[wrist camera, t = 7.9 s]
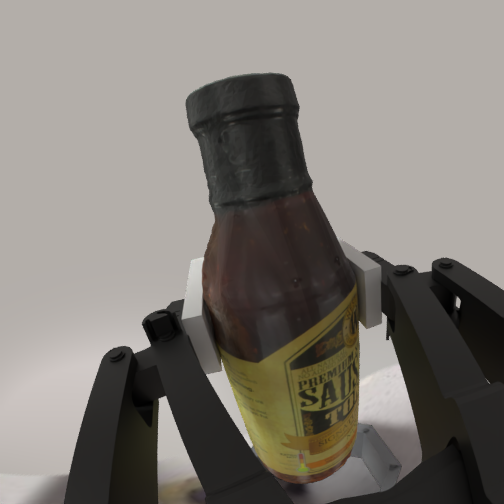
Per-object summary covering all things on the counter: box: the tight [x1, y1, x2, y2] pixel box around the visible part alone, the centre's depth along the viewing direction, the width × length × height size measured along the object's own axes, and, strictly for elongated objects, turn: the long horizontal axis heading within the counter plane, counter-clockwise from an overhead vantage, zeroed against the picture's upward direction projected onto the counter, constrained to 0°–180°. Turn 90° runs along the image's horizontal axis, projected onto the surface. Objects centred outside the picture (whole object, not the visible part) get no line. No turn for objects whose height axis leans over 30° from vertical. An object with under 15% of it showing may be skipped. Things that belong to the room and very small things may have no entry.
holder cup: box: [251, 423, 402, 492], centre depth 18 cm, size 13×13×5 cm
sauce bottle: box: [186, 73, 360, 484], centre depth 12 cm, size 7×6×20 cm
